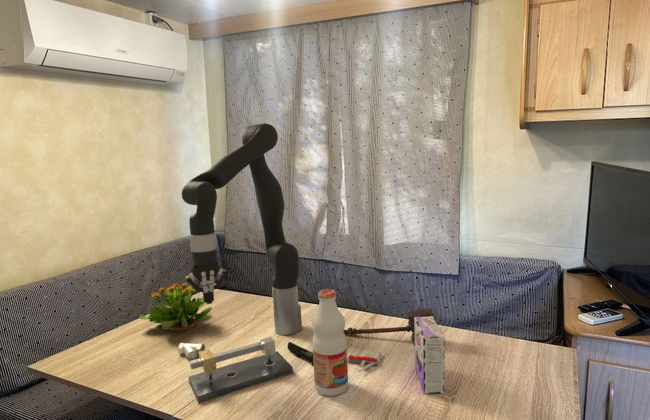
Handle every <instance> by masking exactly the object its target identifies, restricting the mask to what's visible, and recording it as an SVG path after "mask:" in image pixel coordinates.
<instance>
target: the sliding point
mask: <svg viewBox="0 0 650 420" xmlns="http://www.w3.org/2000/svg"><path fill="white" fill-rule="evenodd" d="M198 353H199V355H198V356H199V358H201V360H202V367H201V368H202V370H203V372H205V373H208V377H209V380H212V371H215V370H217V363H216V357H215V355H214V352H212V351H211V350H210V348H208V349H205V350H204V351H200V352H198Z"/></svg>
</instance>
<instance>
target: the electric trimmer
mask: <svg viewBox="0 0 650 420" xmlns="http://www.w3.org/2000/svg"><path fill="white" fill-rule="evenodd" d="M287 349H288V351H289V352H291V353H292V354H293V355H295V356H296V357H297V358H302V359H304V360H306V361H307V362H309V363H310V364H311V366H312V367H314V363H313V351H310V350H308V349H306V348H304V347H301V346H299V345H297V344H296V343H294V342H291V341H288V343H287Z"/></svg>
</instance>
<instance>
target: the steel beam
mask: <svg viewBox="0 0 650 420" xmlns="http://www.w3.org/2000/svg"><path fill="white" fill-rule="evenodd" d="M260 351H261V353H262V354H263V355H265V356H267V358H268V362H271V354H274V353H276V341H275V339H274V338H273V337H271V336H269V337H266V338H265V337H264V338H261V339H260V341H258V342H255V343H251V344H248V345H244V346H241V347H236V348H233V349H229V350H225V351H222V352H218V353H215V354H214V353H213V354H214V355H215V357H216V364H217V363H221V362H224V361H227V360H231V359H234V358H238V357H241V356H245V355H248V354H252V353H255V352H260ZM189 366H190V369H191V370H195V369H198V368H203V367H202V360H201V358H200V357H199V358H196V359H193V360H189Z"/></svg>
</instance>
